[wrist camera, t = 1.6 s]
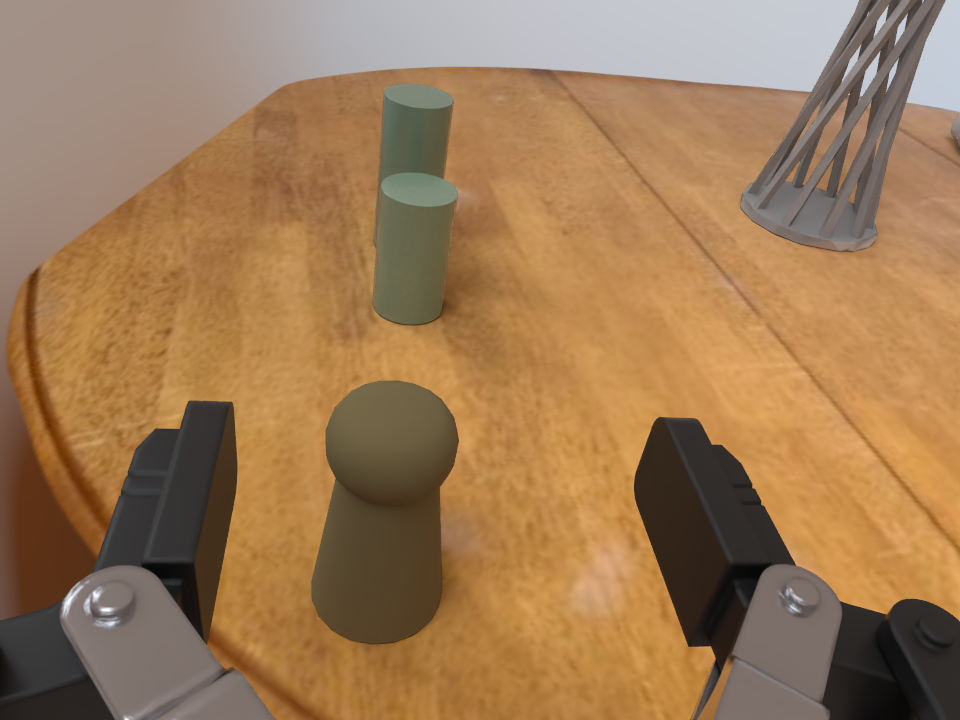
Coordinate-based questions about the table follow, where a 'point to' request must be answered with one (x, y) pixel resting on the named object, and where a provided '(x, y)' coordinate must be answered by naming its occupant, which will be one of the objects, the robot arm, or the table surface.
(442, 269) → the front jar
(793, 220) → the grey lattice tower
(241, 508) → the table surface
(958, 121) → the campfire
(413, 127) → the back jar
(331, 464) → the olive chess pawn
